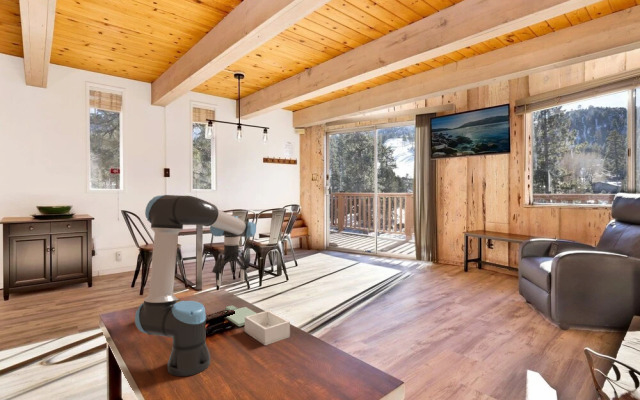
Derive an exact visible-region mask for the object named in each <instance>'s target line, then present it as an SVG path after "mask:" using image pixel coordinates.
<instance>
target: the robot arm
mask: <svg viewBox="0 0 640 400" xmlns="http://www.w3.org/2000/svg"><path fill="white" fill-rule="evenodd" d="M144 213H145V218H146V220H147V222H149V223H150V229H151V230H152V231H153V233H154V237H153V245H152V246H153V248H152V257H151V265H150V266H151V268H150V278H149V279H150V280H149V289H148V295H147V296H146V297H144V299H143V302H142V303H141V304H140V305H139V306H138V308H137V309H136V311H135V316H134V323H135V326H136V328H137V330H139V332H141V333H143V334H146V335H150V336H160V337H166V338H172V349H171V352H170V355H169V358H168V360H167V372H168V373H169V374H170V375H172V376H175V377H189V376H193V375H197V374H200V373H202V372H203V371H205V370H206V369H208V368H209V366H210V365H211V354H210V350H209V349H208V346H207V343H206V338H207V337H206V335H207V334H206V328H207V327H206V326H207V325H206V322H207V321H206V319H207V315H206V308H205V305H204V304H203V303H201V302H199V301H197V300H196V301H195V300H180V302H177V303H176V300H177V299H178V297H176V295H175V294H174V287H175V286H174V285H175V274H176V262H177V252H178V241H179V240H178V239H179V233H181V232H182V231H183V229H184V226H202V227H209V233H210V234H211V235H212V236H214V237H222V236H224V237H223V239H224V240H223V244H224V245H223V252H224V253H223V254H220V253H219V254H217V260H216V261H215V264H214V266H213V268H212V271H211V272H212V273H213V274H215V280H216V283H217V286H218V287H221V285H222V274H221V272H222V270H223V269H224V268H225V266H226V265H227V264H228V263H231V262H236V264H238V266H239V267H240V268H241V269H240V282H242V283H244V282H245V276H246V271H247V269H249V268H250V266H249V264H248V261H247V260H246V258H245V255H244V254H245V253H244V251H243V252H242V251H240V252H239V244H240V243H239V238H241V237H244V238H253V237H254V236H255V235H256V233H257V225H256V223H255V222H252V221H245V220H242V219H241V218H239V216H238V215H231V214H229V213H227V212H224V211H223V210H220V209H219V208H218V207H217V206H216V205H215V204H213V203H211V202H210V201H209V202H208V201H207V200H204V199H202V198H200V197H196V196H192V195H175V194H173V195H172V194H162V195H157V196H153V197H152V199H150V200H149V201H148V203H147V204H146V207H145V211H144ZM239 257H240V258H239ZM240 260H241V261H242V262H241V261H240Z"/></svg>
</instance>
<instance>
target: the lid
mask: <svg viewBox="0 0 640 400" xmlns="http://www.w3.org/2000/svg"><path fill="white" fill-rule="evenodd" d="M226 310H234V311H235V314H233V315H230V316H227V317H225V318H226V319H227V320H228V321H230V322H231V323H233V324H235V325H236V326H238V327H243V326H245V317H246V316H250V315H254V314H257V312H255V311H254V310H252V309H250V308H248V307H247V306H244V307H239V308H238V307H236V306H235V305H234V304H233V305H228V306H225V311H226Z"/></svg>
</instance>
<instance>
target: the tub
mask: <svg viewBox="0 0 640 400" xmlns="http://www.w3.org/2000/svg"><path fill="white" fill-rule="evenodd" d="M256 313H257V312H256ZM244 332H245V333H246V334H247V335H249V336H250V337H252V338H253V339H255V340H256V341H258V342H259V343H261V344H262V345H264V346H267V345H270V344H273V343H276V342H279V341H282V340H285V339H287V338H290V336H291V322H290V320H287V319H286V318H284V317H283V316H280V315H278V314H276V313H275V312H272V311H270V310H266V311H261V312H258V313H257V314H254V315H250V316H246V317H245V325H244Z"/></svg>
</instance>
